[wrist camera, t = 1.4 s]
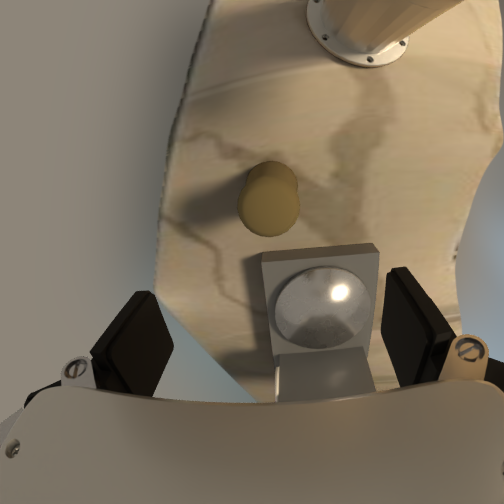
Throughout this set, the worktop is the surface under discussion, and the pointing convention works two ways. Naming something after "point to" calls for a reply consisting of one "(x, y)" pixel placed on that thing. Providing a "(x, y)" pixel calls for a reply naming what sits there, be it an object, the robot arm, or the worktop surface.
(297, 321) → the scale pan
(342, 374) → the scale
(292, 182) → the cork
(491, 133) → the worktop surface
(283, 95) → the worktop surface
